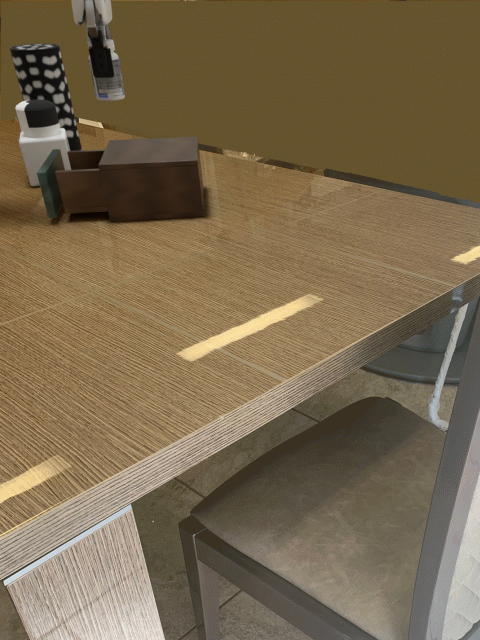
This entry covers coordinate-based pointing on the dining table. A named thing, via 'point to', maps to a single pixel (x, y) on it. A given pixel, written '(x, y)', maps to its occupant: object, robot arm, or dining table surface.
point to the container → (40, 135)
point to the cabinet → (152, 179)
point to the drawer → (72, 183)
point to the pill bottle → (109, 80)
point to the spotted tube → (46, 83)
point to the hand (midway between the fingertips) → (105, 73)
